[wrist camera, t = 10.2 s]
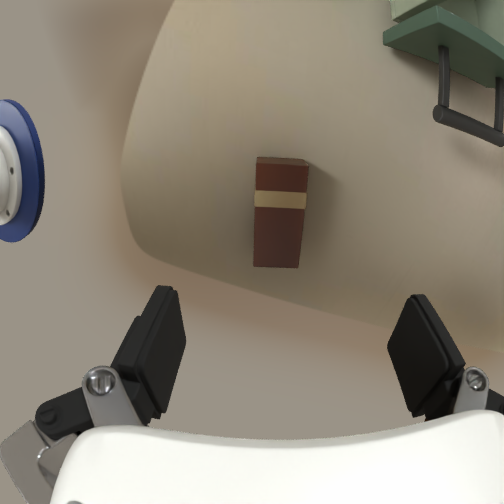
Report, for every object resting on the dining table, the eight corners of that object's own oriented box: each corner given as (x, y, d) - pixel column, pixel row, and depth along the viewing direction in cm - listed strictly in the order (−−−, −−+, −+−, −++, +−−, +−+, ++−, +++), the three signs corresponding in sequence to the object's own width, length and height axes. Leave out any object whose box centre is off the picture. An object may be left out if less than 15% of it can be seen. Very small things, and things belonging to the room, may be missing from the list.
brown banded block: (253, 250, 24) (252, 266, 21) (256, 156, 20) (255, 163, 17) (295, 252, 24) (298, 268, 21) (304, 159, 20) (309, 166, 17)
